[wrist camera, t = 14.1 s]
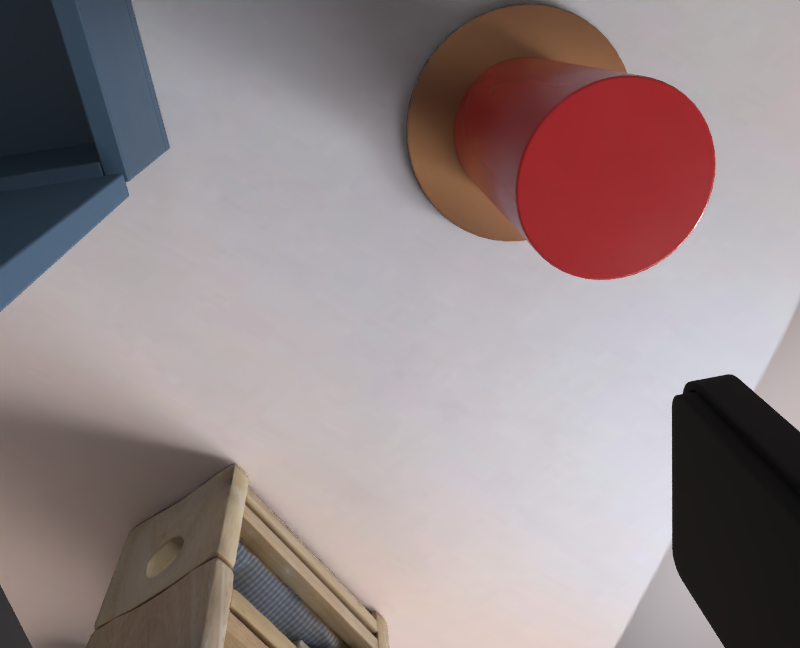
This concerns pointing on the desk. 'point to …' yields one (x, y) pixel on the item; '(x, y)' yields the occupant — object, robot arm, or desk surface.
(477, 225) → the coaster
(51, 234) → the lid
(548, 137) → the can
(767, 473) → the robot arm
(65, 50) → the blue rectangular box
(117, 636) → the dollhouse furniture set
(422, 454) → the desk surface
